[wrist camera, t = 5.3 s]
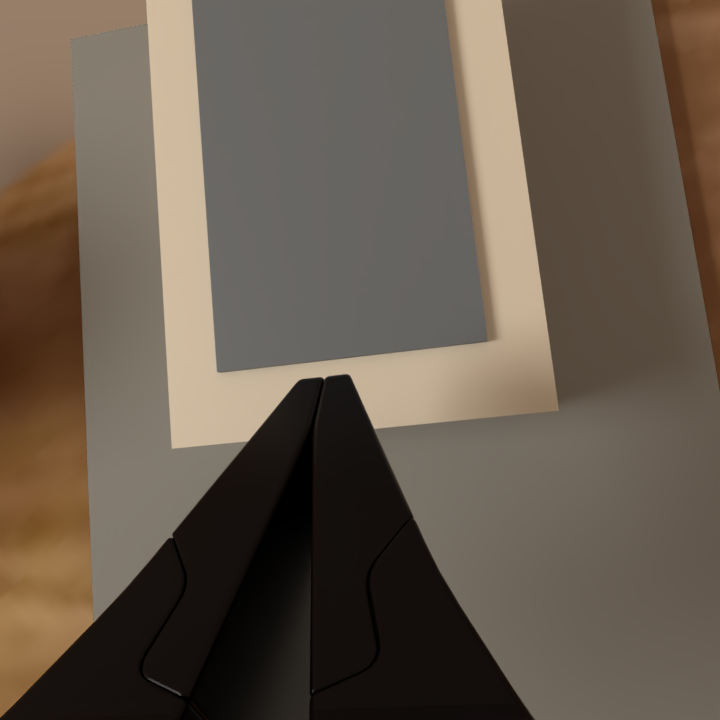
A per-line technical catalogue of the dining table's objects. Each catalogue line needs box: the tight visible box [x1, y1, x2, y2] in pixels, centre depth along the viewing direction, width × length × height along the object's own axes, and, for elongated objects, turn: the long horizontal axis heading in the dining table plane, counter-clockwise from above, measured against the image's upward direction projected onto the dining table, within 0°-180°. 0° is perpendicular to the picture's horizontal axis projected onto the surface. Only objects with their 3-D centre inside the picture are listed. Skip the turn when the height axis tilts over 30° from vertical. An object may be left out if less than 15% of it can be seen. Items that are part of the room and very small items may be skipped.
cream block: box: [146, 0, 559, 449], centre depth 14 cm, size 5×8×12 cm
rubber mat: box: [71, 0, 720, 720], centre depth 16 cm, size 26×18×1 cm
